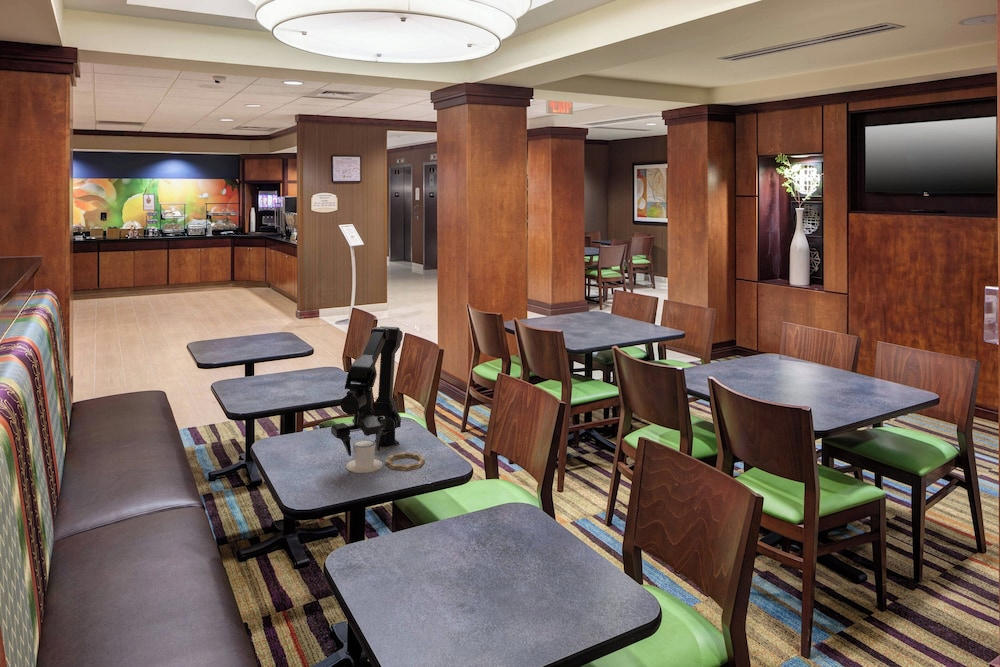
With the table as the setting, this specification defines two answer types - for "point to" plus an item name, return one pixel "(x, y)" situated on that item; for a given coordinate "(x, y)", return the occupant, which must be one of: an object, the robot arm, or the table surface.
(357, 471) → the coaster mat
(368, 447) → the shot glass
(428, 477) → the table surface
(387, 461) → the oak collar
